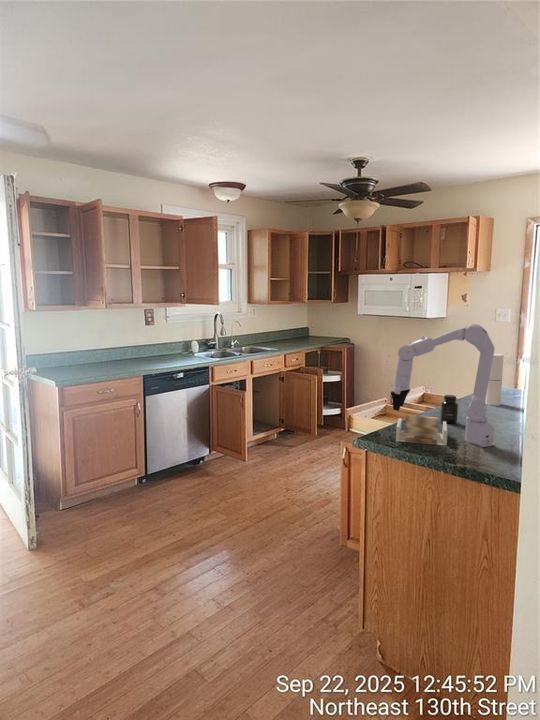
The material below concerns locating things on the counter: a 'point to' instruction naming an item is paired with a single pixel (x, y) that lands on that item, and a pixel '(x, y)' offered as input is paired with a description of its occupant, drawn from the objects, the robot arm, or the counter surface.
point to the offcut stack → (421, 439)
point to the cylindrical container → (495, 381)
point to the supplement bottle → (449, 410)
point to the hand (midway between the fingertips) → (397, 407)
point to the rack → (440, 437)
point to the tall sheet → (421, 425)
